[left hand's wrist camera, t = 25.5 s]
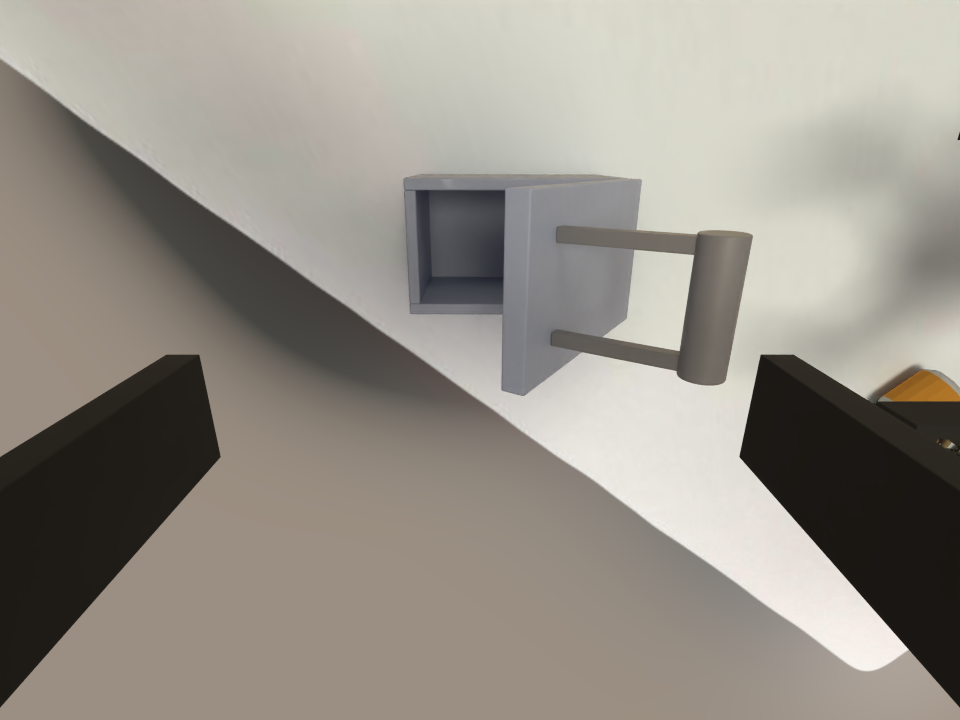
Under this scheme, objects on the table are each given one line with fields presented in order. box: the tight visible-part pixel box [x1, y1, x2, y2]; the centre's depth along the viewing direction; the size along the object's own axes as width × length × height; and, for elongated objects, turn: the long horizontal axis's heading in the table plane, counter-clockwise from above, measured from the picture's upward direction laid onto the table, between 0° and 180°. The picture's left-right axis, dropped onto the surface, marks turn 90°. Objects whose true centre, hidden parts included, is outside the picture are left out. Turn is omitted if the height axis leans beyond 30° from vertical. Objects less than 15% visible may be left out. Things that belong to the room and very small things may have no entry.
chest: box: [404, 174, 628, 314], centre depth 39 cm, size 14×9×10 cm, turn 90°
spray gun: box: [878, 370, 960, 457], centre depth 49 cm, size 4×17×15 cm
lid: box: [502, 179, 753, 396], centre depth 26 cm, size 15×9×9 cm
